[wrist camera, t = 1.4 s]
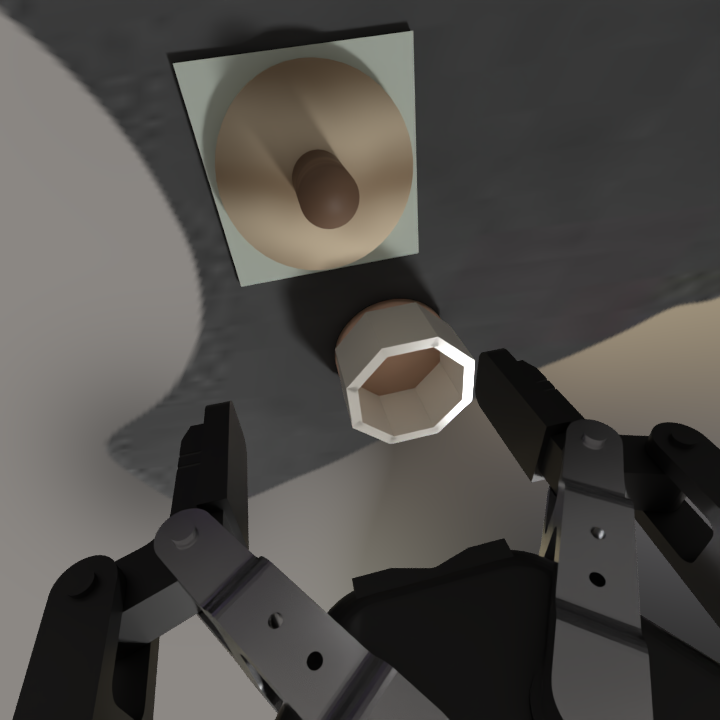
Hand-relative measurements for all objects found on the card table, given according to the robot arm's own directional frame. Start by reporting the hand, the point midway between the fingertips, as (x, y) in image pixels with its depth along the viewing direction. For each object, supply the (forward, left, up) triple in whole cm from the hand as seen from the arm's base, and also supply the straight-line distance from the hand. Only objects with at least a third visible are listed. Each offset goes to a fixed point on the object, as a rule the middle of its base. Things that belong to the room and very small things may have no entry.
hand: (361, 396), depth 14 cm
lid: (-2, +1, -18) cm, 19 cm away
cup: (+13, +5, -19) cm, 23 cm away
